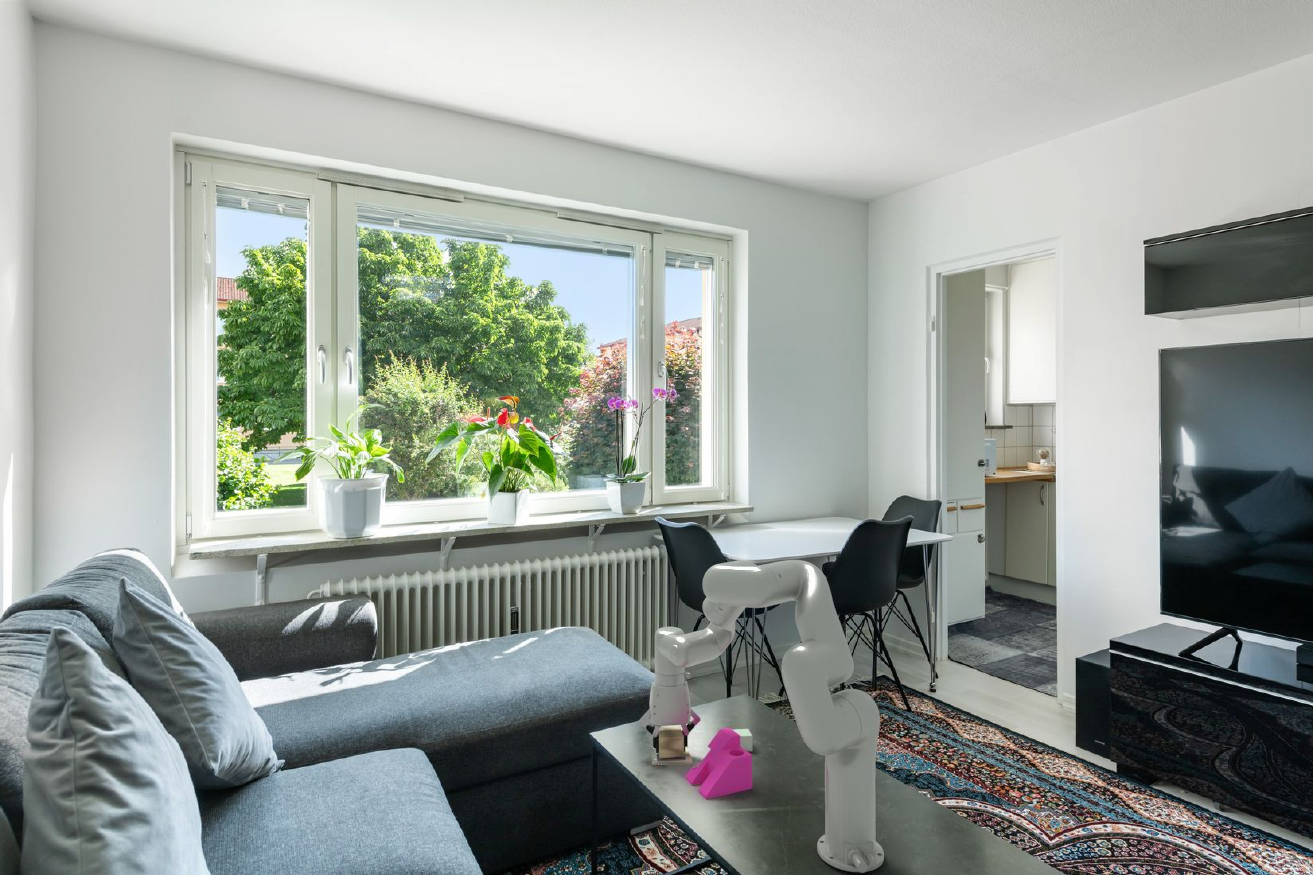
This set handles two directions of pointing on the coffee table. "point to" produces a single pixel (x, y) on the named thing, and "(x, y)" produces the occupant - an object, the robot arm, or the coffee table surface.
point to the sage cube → (745, 738)
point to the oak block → (671, 742)
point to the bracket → (723, 767)
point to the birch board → (675, 759)
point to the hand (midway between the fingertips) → (670, 749)
